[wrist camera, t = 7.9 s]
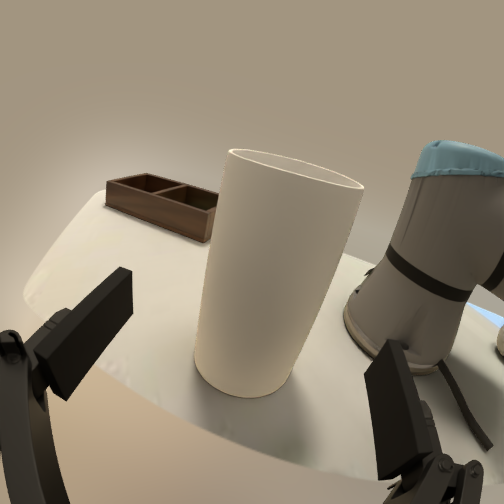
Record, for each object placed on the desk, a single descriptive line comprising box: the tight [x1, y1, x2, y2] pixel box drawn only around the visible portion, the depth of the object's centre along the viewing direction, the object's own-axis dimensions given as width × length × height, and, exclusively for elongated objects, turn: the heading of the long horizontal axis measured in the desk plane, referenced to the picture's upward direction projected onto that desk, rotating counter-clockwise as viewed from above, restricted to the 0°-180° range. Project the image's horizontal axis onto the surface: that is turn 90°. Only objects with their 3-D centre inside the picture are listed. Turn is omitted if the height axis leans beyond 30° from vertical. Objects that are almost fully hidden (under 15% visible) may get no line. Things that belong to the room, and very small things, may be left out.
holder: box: [105, 173, 219, 243], centre depth 47 cm, size 11×22×5 cm, turn 69°
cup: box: [194, 149, 364, 398], centre depth 19 cm, size 8×8×16 cm
